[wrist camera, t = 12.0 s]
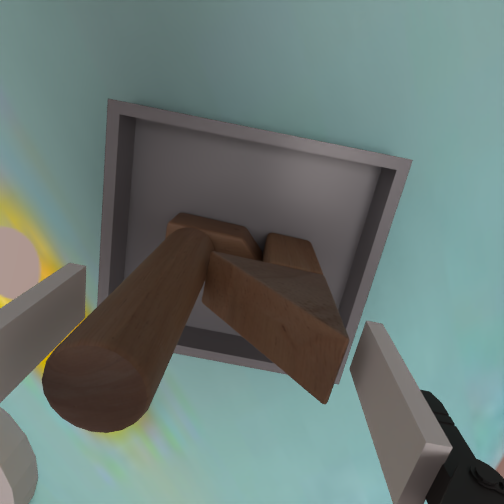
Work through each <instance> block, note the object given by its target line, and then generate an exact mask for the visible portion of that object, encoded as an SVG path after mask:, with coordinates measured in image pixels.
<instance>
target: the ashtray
mask: <svg viewBox="0 0 504 504" xmlns="http://www.w3.org/2000/svg"><path fill="white" fill-rule="evenodd" d="M37 480H38V471H37V463H36V456H35V454H34V452H33V450H32V447H31V445H30V443H29V441H28V438H27V436H26V435H25V433H24V432H23V431H22V430H21V428H20V427H19V426H18V425H17V423H16V422H15V421H14V419H13V418H12V417H11V416H10V414H8V413H7V412H6V411H5V410H4V409H2V408H1V407H0V504H28V503H29V502H30V500H31V499H32V497H33V496H34V492H35V488H36V484H37Z"/></svg>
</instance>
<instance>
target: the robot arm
mask: <svg viewBox="0 0 504 504" xmlns="http://www.w3.org/2000/svg"><path fill="white" fill-rule="evenodd" d="M85 289H86V266H84V265H79V264H74V263H68V264H67V265H65V266H64V267H62V268H61V269H59V270H58V271H56V272H55V273H53V274H52V275H50V276H49V277H47V278H46V279H44V280H43V281H41V282H40V283H38V284H37V285H35V286H34V287H32V288H31V289H29V290H28V291H26V292H25V293H23V294H22V295H20V296H19V297H17V298H16V299H14V300H13V301H11V302H9V303H8V304H6V305H5V306H3V307H2V308H0V403H1V402H2V401H3V400H4V399H5V398H6V397H7V396H8V395H9V394H10V393H11V392H12V391H13V390H14V389H15V388H16V387H17V386H18V385H19V383H20V382H21V381H22V380H23V379H24V378H25V377H26V376H27V375H28V374H29V373H30V372H31V371H32V370H33V369H34V368H35V367H36V366H37V365H38V364H39V363H40V362H41V361H42V360H43V359H44V358H45V357H46V356H47V355H48V354H49V353H50V352H51V351H52V350H53V349H54V348H55V347H56V346H57V345H58V344H59V343H60V342H61V341H62V340H63V339H64V338H65V337H66V336H67V335H68V334H69V333H70V332H71V331H72V330H73V329H74V328H75V327H76V326H77V325H78V324H79V323H80V322H81V321H82V320H83V319H84V318H85ZM350 372H351V375H352V378H353V381H354V384H355V387H356V390H357V393H358V396H359V400H360V403H361V406H362V409H363V412H364V415H365V418H366V421H367V424H368V427H369V430H370V434H371V437H372V440H373V443H374V446H375V449H376V452H377V455H378V458H379V461H380V464H381V468H382V471H383V474H384V477H385V480H386V483H387V486H388V489H389V492H390V495H391V498H392V501H393V504H424V502H425V500H427V503H428V504H504V479H503V477H502V476H501V475H500V474H499V473H498V472H497V471H496V470H494V469H493V468H492V467H491V466H489V465H488V464H486V463H484V462H482V461H480V460H478V459H476V458H475V456H474V455H473V453H472V451H471V450H470V448H469V446H468V445H467V443H466V442H465V440H464V438H463V437H462V435H461V434H460V432H459V430H458V429H457V427H456V426H454V422H453V421H452V419H451V417H449V416H448V415H449V414H448V413H447V411H446V409H445V408H444V406H443V404H442V403H441V402H440V401H439V400H438V399H437V398H436V397H435V396H434V395H433V394H432V393H431V392H429V391H424V390H420V389H419V387H418V386H417V384H416V382H415V380H414V378H413V377H412V375H411V373H410V371H409V370H408V368H407V366H406V364H405V363H404V361H403V359H402V357H401V356H400V354H399V352H398V350H397V348H396V347H395V345H394V343H393V341H392V340H391V338H390V336H389V334H388V333H387V331H386V329H385V327H384V326H383V324H381V323H376V322H371V321H366V323H365V326H364V329H363V332H362V334H361V337H360V340H359V343H358V346H357V349H356V352H355V355H354V357H353V360H352V363H351V366H350Z"/></svg>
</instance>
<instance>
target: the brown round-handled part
mask: <svg viewBox="0 0 504 504" xmlns="http://www.w3.org/2000/svg"><path fill="white" fill-rule="evenodd" d="M204 282H205V285H204V291H203V296H202V303H203V304H204V305H205V306H206V307H208V308H209V309H210V310H211V311H212V312H214V313H215V314H216V315H217V316H218V317H219V318H221V319H222V320H223V321H224V322H225V323H227V324H228V325H229V326H230V327H231V328H233V329H234V330H235V331H236V332H237V333H239V334H240V335H241V336H242V337H243V338H245V339H246V340H247V341H248V342H249V343H251V344H252V345H253V346H254V347H255V348H256V349H258V350H259V351H260V352H261V353H262V354H264V355H265V356H266V357H267V358H268V359H270V360H271V361H272V362H273V363H274V364H276V365H277V366H278V367H279V368H280V369H282V370H283V371H284V372H285V373H286V374H288V375H289V376H290V377H291V378H292V379H293V380H295V381H296V382H297V383H298V384H299V385H301V386H302V387H303V388H304V389H305V390H307V391H308V392H309V393H310V394H311V395H313V396H314V397H315V398H316V399H317V400H319V401H320V402H321V403H322V404H326V403H327V402H328V399H329V397H330V394H331V391H332V388H333V385H334V383H335V380H336V377H337V374H338V372H339V369H340V366H341V363H342V361H343V358H344V355H345V352H346V349H347V347H348V344H349V341H350V340H349V336H348V334H347V331H346V329H345V326H344V324H343V321H342V319H341V316H340V314H339V311H338V309H337V306H336V304H335V301H334V299H333V296H332V293H331V291H330V288H329V286H328V283H327V281H326V278H325V276H324V275H323V272H322V269H321V267H320V264H319V262H318V259H317V257H316V254H315V252H314V249H313V246H312V244H311V242H309V241H308V240H303V239H299V238H294V237H290V236H285V235H281V234H276V233H269V234H268V235H267V238H266V243H265V247H264V251H263V255H262V251H261V249H260V248H259V246H258V245H257V243H256V241H255V240H254V238H253V237H252V235H251V234H250V232H249V231H248V229H247V228H246V227H244V226H240V225H236V224H231V223H227V222H222V221H218V220H213V219H209V218H204V217H200V216H195V215H191V214H187V213H179V214H177V215H176V216H175V217H174V218H173V219H172V220H170V221H169V222H168V224H167V229H166V236H165V240H164V241H163V242H162V243H161V244H160V245H159V246H158V247H157V248H156V249H155V250H154V251H153V252H152V253H151V254H150V255H149V256H148V257H147V258H146V259H145V260H144V261H143V262H142V263H141V264H140V265H139V266H138V267H137V268H136V269H135V270H134V271H133V272H132V273H131V274H130V275H129V276H128V277H127V278H126V279H125V280H124V281H123V282H122V283H121V284H120V285H119V286H118V287H117V288H116V289H115V290H114V291H113V292H112V293H111V294H110V295H109V296H108V297H107V298H106V299H105V300H104V301H103V302H102V303H101V304H100V305H99V306H98V307H97V308H96V309H95V310H94V311H93V312H92V313H91V314H90V315H89V316H88V317H87V318H86V319H85V320H84V321H83V322H82V323H81V324H80V325H79V326H78V327H77V328H76V329H75V330H74V331H73V332H72V333H71V334H70V335H69V336H68V337H67V338H66V339H65V340H64V341H63V342H62V343H61V344H60V345H59V346H58V347H57V348H56V349H55V350H54V351H53V353H52V354H51V355H50V357H49V358H48V359H47V361H46V365H45V369H44V373H43V377H42V384H43V390H44V394H45V396H46V398H47V400H48V402H49V404H50V406H51V407H52V408H53V409H54V410H55V411H56V412H57V413H58V414H59V415H60V416H61V417H62V418H63V419H65V420H66V421H68V422H70V423H71V424H73V425H74V426H76V427H79V428H82V429H85V430H88V431H92V432H104V433H108V432H114V431H119V430H123V429H124V428H126V427H128V426H130V425H132V424H134V423H135V422H137V421H138V420H139V419H140V418H141V417H142V416H143V415H144V414H145V412H146V411H147V410H148V409H149V406H150V404H151V402H152V399H153V397H154V395H155V393H156V390H157V388H158V386H159V384H160V381H161V379H162V377H163V375H164V372H165V370H166V368H167V366H168V363H169V361H170V359H171V357H172V354H173V352H174V350H175V348H176V345H177V343H178V341H179V339H180V336H181V334H182V332H183V329H184V327H185V325H186V323H187V320H188V318H189V316H190V314H191V311H192V309H193V307H194V305H195V302H196V300H197V298H198V296H199V293H200V291H201V289H202V287H203V284H204Z"/></svg>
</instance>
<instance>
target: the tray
mask: <svg viewBox="0 0 504 504" xmlns="http://www.w3.org/2000/svg"><path fill="white" fill-rule="evenodd" d="M412 161H413V160H410V159H405V158H400V157H395V156H390V155H385V154H380V153H376V152H371V151H366V150H361V149H356V148H351V147H346V146H341V145H336V144H331V143H326V142H321V141H316V140H311V139H306V138H301V137H296V136H291V135H286V134H281V133H276V132H271V131H266V130H261V129H256V128H251V127H247V126H242V125H237V124H232V123H227V122H222V121H217V120H212V119H207V118H202V117H197V116H192V115H187V114H182V113H177V112H172V111H167V110H162V109H157V108H152V107H147V106H142V105H137V104H132V103H127V102H122V101H117V100H113V99H108V107H107V127H106V146H105V166H104V185H103V205H102V224H101V244H100V263H99V283H98V302H97V307H98V306H99V305H100V304H101V303H102V302H103V301H104V300H105V299H106V298H107V297H108V296H109V295H110V294H111V293H112V292H113V291H114V290H115V289H116V288H117V287H118V286H119V285H120V284H121V283H122V282H123V281H124V280H125V279H126V278H127V277H128V276H129V275H130V274H131V273H132V272H133V271H134V270H135V269H136V268H137V267H138V266H139V265H140V264H141V263H142V262H143V261H144V260H145V259H146V258H147V257H148V256H149V255H150V254H151V253H152V252H153V251H154V250H155V249H156V248H157V247H158V246H159V245H160V244H161V243H162V242H163V241H164V240H165V236H166V229H167V224H168V222H169V221H170V220H172V219H173V218H174V217H175V216H176V215H177V214H179V213H187V214H191V215H195V216H200V217H204V218H209V219H213V220H218V221H222V222H227V223H231V224H236V225H240V226H244V227H246V228H247V229H248V231H249V232H250V234H251V235H252V237H253V238H254V240H255V241H256V243H257V245H258V246H259V248H260V249H261V251H262V255H263V251H264V247H265V243H266V238H267V235H268V234H269V233H276V234H281V235H285V236H290V237H294V238H299V239H303V240H308V241H309V242H311V244H312V246H313V249H314V252H315V254H316V257H317V259H318V262H319V264H320V267H321V269H322V272H323V275H324V276H325V278H326V281H327V283H328V286H329V288H330V291H331V293H332V296H333V299H334V301H335V304H336V306H337V309H338V311H339V314H340V316H341V319H342V321H343V324H344V326H345V329H346V331H347V334H348V336H349V340H350V341H349V344H348V347H347V349H346V352H345V355H344V358H343V361H342V363H341V366H340V369H339V372H338V374H337V377H336V380H335V383H334V384H339V382H340V379H341V376H342V373H343V370H344V367H345V364H346V361H347V358H348V355H349V352H350V349H351V346H352V343H353V339H354V336H355V333H356V330H357V327H358V324H359V321H360V318H361V315H362V312H363V309H364V306H365V303H366V300H367V297H368V294H369V291H370V288H371V285H372V282H373V279H374V276H375V273H376V270H377V267H378V264H379V261H380V258H381V255H382V252H383V249H384V246H385V242H386V239H387V236H388V233H389V230H390V227H391V224H392V221H393V218H394V215H395V212H396V209H397V206H398V203H399V200H400V197H401V194H402V191H403V188H404V185H405V182H406V179H407V176H408V173H409V170H410V167H411V164H412ZM204 285H205V282H204V284H203V287H202V289H201V291H200V293H199V296H198V298H197V300H196V302H195V305H194V307H193V309H192V311H191V314H190V316H189V318H188V320H187V323H186V325H185V327H184V329H183V332H182V334H181V336H180V339H179V341H178V343H177V345H176V348H175V350H174V352H173V353H177V354H182V355H187V356H193V357H198V358H203V359H208V360H214V361H219V362H224V363H229V364H235V365H240V366H245V367H250V368H256V369H261V370H266V371H271V372H277V373H282V374H286V373H285V372H284V371H283V370H282V369H280V368H279V367H278V366H277V365H276V364H274V363H273V362H272V361H271V360H270V359H268V358H267V357H266V356H265V355H264V354H262V353H261V352H260V351H259V350H258V349H256V348H255V347H254V346H253V345H252V344H251V343H249V342H248V341H247V340H246V339H245V338H243V337H242V336H241V335H240V334H239V333H237V332H236V331H235V330H234V329H233V328H231V327H230V326H229V325H228V324H227V323H225V322H224V321H223V320H222V319H221V318H219V317H218V316H217V315H216V314H215V313H214V312H212V311H211V310H210V309H209V308H208V307H206V306H205V305H204V304H203V303H202V296H203V291H204ZM287 375H288V374H287Z"/></svg>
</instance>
